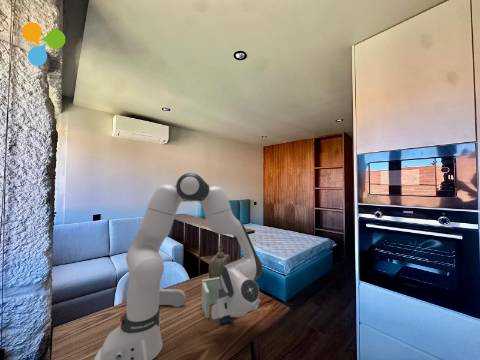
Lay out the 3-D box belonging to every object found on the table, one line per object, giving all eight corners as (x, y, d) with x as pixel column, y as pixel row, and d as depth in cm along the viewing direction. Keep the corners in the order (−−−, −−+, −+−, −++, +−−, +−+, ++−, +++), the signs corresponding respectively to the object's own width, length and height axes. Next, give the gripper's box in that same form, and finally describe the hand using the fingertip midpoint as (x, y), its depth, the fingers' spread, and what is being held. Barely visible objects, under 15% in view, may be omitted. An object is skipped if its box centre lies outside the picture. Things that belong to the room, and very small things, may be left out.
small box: (234, 322, 92) (234, 299, 92) (219, 324, 91) (220, 301, 91) (230, 308, 103) (230, 287, 103) (217, 309, 101) (217, 288, 101)
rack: (205, 318, 95) (206, 291, 95) (201, 304, 105) (201, 279, 106) (245, 309, 102) (245, 283, 102) (237, 297, 113) (237, 274, 113)
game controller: (186, 304, 105) (186, 288, 105) (184, 307, 103) (185, 291, 103) (148, 303, 106) (149, 287, 106) (146, 306, 103) (147, 290, 103)
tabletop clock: (222, 292, 117) (222, 249, 118) (207, 289, 120) (208, 247, 120) (230, 280, 131) (230, 241, 132) (217, 278, 134) (217, 240, 134)
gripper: (259, 290, 88) (250, 301, 97) (213, 299, 81) (208, 309, 90) (264, 307, 84) (254, 316, 93) (216, 318, 77) (210, 326, 86)
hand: (231, 313), depth 91 cm, fingers closed
